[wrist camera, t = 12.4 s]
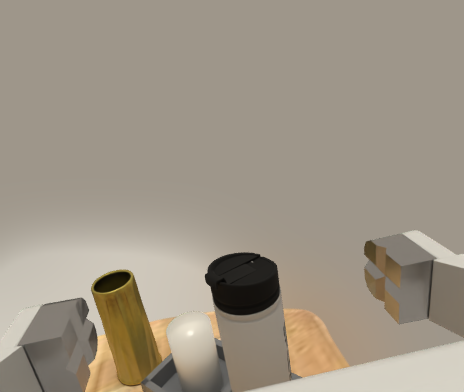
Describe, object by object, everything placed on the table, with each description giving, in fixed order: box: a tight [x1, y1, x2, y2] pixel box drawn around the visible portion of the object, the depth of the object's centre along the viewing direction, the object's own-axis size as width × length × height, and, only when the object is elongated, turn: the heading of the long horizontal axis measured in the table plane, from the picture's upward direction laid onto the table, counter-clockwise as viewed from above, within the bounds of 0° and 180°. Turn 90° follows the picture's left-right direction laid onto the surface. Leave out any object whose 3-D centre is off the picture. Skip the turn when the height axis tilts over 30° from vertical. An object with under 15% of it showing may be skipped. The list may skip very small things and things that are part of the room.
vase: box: [91, 270, 162, 385], centre depth 45 cm, size 6×6×14 cm
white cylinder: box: [166, 311, 223, 392], centre depth 41 cm, size 5×5×9 cm
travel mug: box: [205, 253, 292, 392], centre depth 33 cm, size 6×7×20 cm
